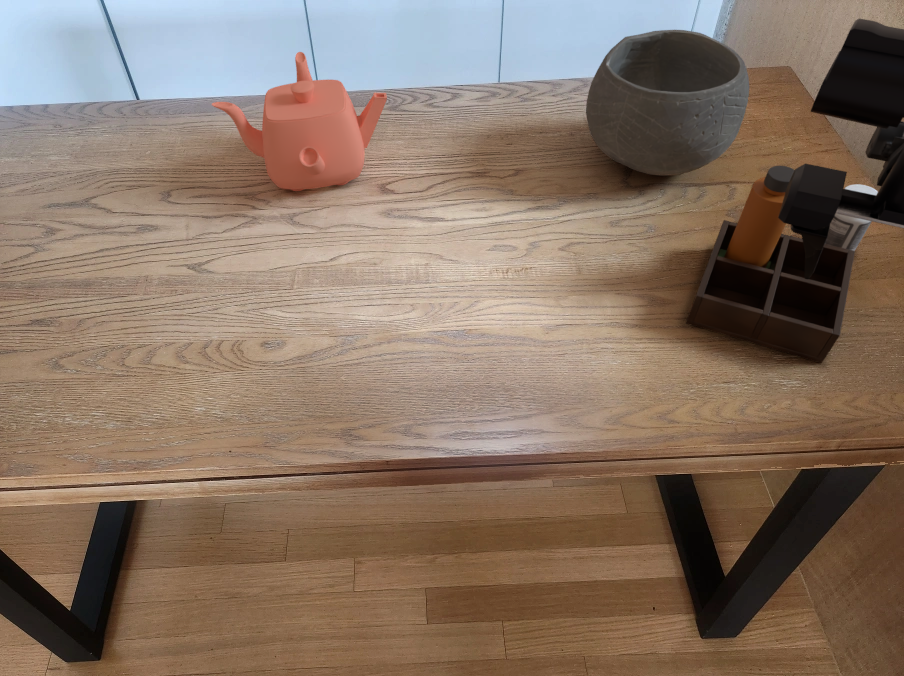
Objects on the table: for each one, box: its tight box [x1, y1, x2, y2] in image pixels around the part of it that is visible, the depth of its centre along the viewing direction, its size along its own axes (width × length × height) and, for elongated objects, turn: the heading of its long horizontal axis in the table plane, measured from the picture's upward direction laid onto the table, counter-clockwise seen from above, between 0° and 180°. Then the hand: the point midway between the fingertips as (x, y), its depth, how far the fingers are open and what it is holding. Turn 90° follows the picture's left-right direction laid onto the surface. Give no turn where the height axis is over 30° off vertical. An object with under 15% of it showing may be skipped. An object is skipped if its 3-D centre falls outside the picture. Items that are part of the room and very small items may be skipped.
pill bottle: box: [825, 183, 879, 252], centre depth 81 cm, size 5×5×8 cm
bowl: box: [585, 29, 750, 176], centre depth 94 cm, size 21×21×15 cm
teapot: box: [211, 51, 388, 192], centre depth 98 cm, size 18×18×14 cm
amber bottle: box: [724, 165, 795, 268], centre depth 77 cm, size 5×5×14 cm
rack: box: [685, 219, 856, 364], centre depth 78 cm, size 15×15×5 cm
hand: (860, 289), depth 62 cm, fingers open, 9 cm apart
